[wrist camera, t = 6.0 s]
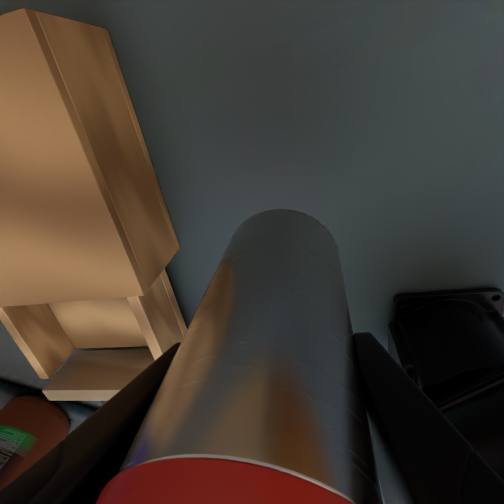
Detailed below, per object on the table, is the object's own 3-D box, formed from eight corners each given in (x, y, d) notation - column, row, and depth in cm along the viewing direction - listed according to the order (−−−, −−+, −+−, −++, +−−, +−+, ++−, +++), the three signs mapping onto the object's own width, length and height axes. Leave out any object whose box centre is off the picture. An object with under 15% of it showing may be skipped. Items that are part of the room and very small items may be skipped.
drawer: (218, 395, 29) (205, 442, 25) (101, 396, 31) (74, 437, 28) (156, 219, 21) (124, 249, 17) (9, 239, 24) (-45, 269, 20)
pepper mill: (336, 196, 11) (431, 592, 3) (346, 302, 13) (418, 726, 5) (213, 214, 12) (-15, 539, 4) (239, 310, 14) (134, 666, 6)
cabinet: (180, 248, 23) (144, 296, 18) (29, 265, 26) (-39, 310, 21) (107, 28, 17) (23, 6, 12) (-77, 82, 20) (-208, 84, 15)
